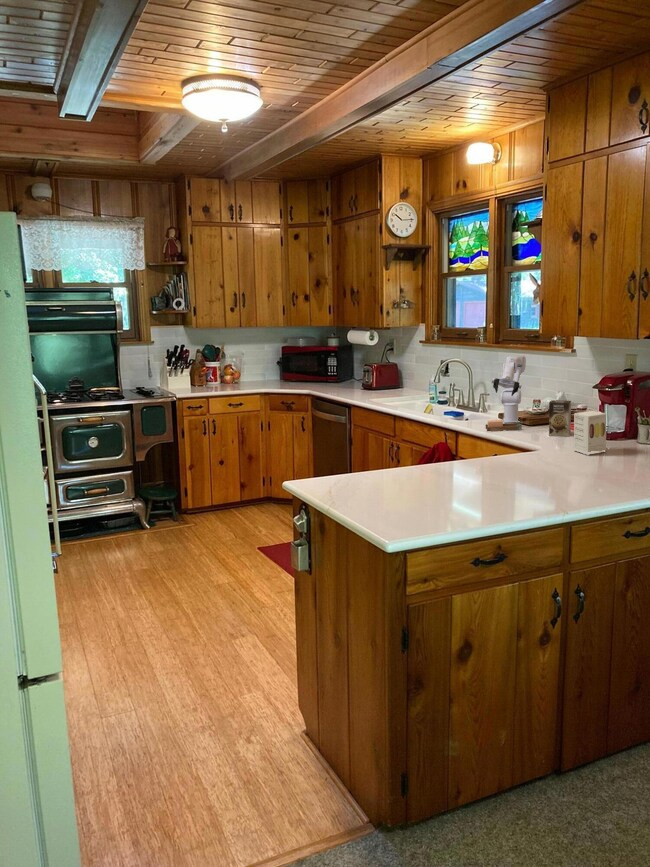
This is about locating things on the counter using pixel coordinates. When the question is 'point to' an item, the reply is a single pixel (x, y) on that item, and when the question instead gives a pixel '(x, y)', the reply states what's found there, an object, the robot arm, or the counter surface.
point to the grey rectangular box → (559, 418)
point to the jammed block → (495, 423)
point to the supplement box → (590, 431)
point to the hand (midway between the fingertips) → (504, 392)
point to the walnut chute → (506, 427)
